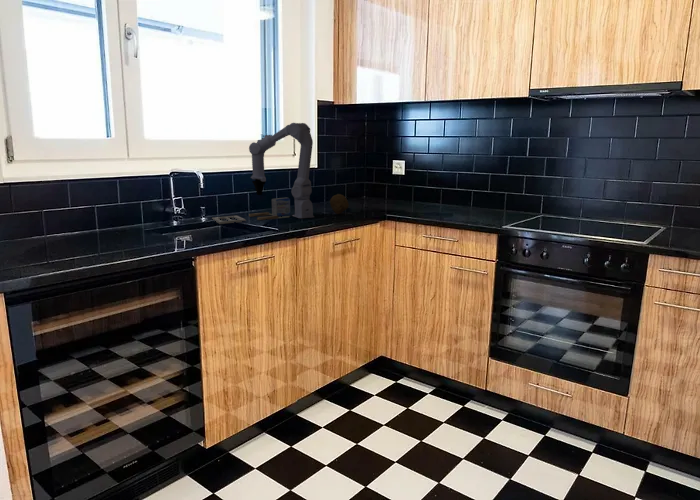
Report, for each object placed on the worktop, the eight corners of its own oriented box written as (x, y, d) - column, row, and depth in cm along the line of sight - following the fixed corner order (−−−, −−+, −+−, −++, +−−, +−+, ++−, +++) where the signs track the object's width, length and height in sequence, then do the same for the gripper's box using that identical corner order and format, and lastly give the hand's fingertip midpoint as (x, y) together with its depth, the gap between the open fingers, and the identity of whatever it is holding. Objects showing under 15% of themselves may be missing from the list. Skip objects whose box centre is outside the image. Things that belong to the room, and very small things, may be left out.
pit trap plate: (245, 221, 229) (245, 219, 229) (220, 224, 223) (219, 221, 223) (236, 217, 240) (236, 215, 239) (212, 219, 234) (211, 217, 234)
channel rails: (278, 218, 237) (278, 215, 236) (258, 220, 232) (258, 217, 231) (268, 214, 248) (268, 212, 247) (248, 216, 243) (248, 213, 242)
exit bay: (289, 217, 240) (289, 216, 239) (279, 218, 237) (279, 217, 237) (279, 213, 250) (279, 212, 250) (269, 214, 248) (269, 213, 248)
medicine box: (276, 217, 240) (275, 199, 238) (272, 216, 244) (271, 198, 242) (290, 215, 245) (290, 197, 243) (285, 214, 248) (285, 197, 246)
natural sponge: (345, 212, 254) (345, 192, 251) (351, 215, 245) (350, 194, 243) (328, 213, 251) (328, 193, 249) (333, 216, 243) (333, 195, 240)
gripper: (245, 166, 250) (247, 193, 253) (255, 168, 238) (257, 196, 241) (258, 166, 253) (260, 192, 257) (269, 168, 241) (270, 196, 244)
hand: (259, 194), depth 249 cm, fingers closed
